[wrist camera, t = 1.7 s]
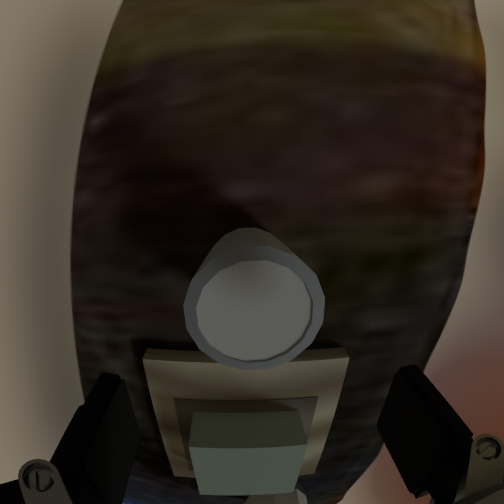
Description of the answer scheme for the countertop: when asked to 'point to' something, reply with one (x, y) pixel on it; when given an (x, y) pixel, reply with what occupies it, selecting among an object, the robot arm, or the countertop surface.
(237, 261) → the grey tapered cup
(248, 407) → the board
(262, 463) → the sage block
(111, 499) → the robot arm
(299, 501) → the wine bottle
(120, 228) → the countertop surface
